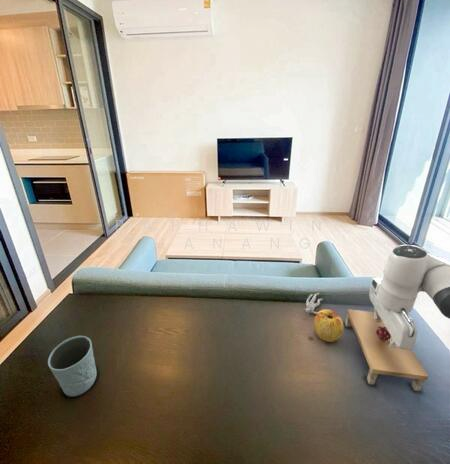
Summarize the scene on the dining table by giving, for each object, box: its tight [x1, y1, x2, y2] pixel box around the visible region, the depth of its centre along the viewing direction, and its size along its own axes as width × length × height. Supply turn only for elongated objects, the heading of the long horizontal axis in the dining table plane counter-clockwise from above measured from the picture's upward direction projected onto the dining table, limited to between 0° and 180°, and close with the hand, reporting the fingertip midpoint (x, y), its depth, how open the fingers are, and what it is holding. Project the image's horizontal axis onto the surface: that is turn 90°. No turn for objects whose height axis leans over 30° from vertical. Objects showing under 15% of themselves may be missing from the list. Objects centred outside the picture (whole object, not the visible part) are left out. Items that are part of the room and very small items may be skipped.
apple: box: [313, 308, 344, 343], centre depth 83 cm, size 9×9×10 cm
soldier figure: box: [303, 292, 324, 315], centre depth 96 cm, size 8×5×12 cm
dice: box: [376, 326, 391, 340], centre depth 76 cm, size 4×4×4 cm
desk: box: [344, 308, 429, 392], centre depth 78 cm, size 14×22×6 cm, turn 172°
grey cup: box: [47, 335, 98, 397], centre depth 68 cm, size 10×10×12 cm
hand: (384, 332), depth 76 cm, fingers open, 8 cm apart
